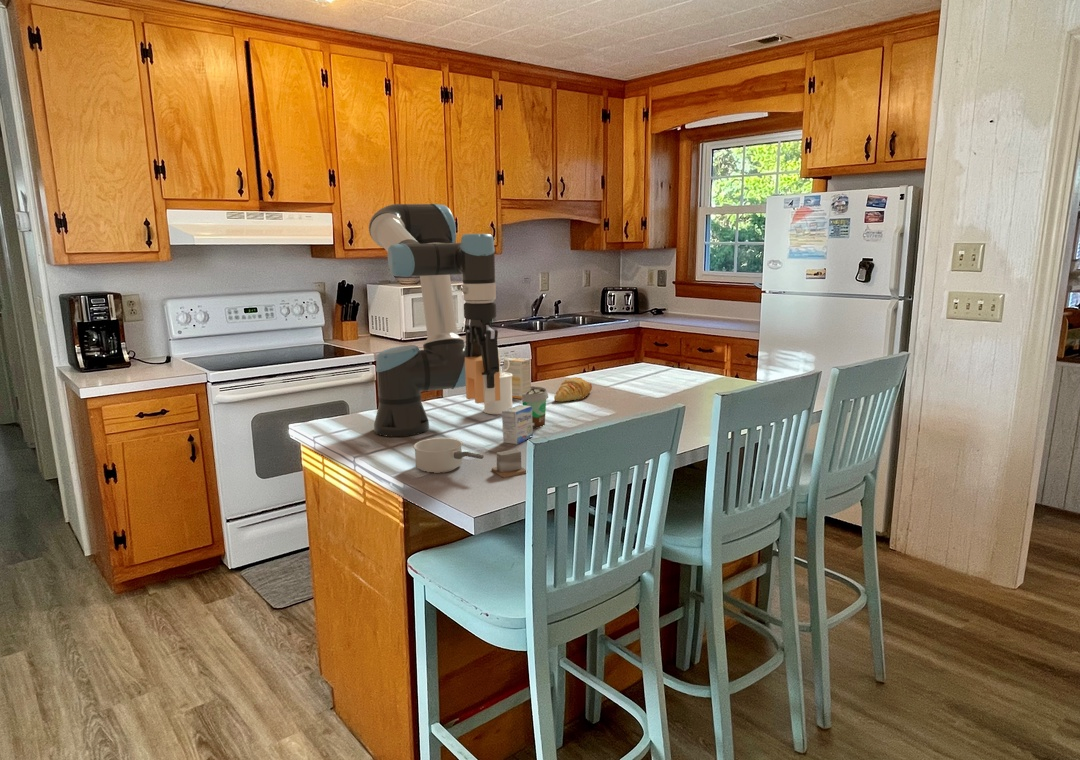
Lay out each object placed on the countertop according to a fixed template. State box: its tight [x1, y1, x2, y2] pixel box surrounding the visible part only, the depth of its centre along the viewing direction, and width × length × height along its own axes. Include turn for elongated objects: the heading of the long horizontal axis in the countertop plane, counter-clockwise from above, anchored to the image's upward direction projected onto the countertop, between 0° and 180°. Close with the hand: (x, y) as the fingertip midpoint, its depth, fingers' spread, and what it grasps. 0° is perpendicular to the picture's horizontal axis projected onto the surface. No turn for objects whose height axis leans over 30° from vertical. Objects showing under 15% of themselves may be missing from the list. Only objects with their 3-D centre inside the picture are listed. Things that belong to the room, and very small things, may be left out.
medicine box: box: [501, 404, 534, 446], centre depth 179 cm, size 8×4×9 cm, turn 148°
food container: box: [521, 385, 549, 429], centre depth 194 cm, size 12×6×10 cm, turn 168°
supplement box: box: [503, 357, 532, 400], centre depth 231 cm, size 8×5×13 cm, turn 49°
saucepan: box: [412, 437, 485, 474], centre depth 156 cm, size 12×20×6 cm, turn 50°
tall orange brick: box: [465, 355, 500, 404], centre depth 162 cm, size 6×6×10 cm
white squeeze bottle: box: [483, 347, 514, 415], centre depth 210 cm, size 10×9×20 cm
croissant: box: [554, 377, 593, 402], centre depth 229 cm, size 21×10×8 cm, turn 146°
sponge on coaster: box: [491, 448, 527, 479], centre depth 154 cm, size 6×6×5 cm
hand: (483, 398), depth 163 cm, fingers closed on tall orange brick, 6 cm apart
